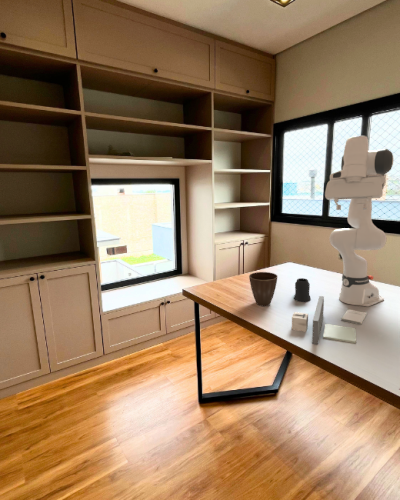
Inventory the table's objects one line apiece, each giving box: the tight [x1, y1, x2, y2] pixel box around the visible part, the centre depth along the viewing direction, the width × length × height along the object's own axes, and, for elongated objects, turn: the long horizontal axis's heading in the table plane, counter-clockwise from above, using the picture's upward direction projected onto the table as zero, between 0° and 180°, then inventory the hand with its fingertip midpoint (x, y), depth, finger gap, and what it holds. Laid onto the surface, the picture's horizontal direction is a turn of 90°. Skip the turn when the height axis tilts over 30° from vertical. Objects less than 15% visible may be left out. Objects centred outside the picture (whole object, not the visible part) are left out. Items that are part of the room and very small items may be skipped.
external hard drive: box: [340, 309, 368, 326], centre depth 136 cm, size 2×8×12 cm
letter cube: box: [291, 311, 309, 333], centre depth 129 cm, size 6×6×6 cm
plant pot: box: [248, 271, 278, 307], centre depth 157 cm, size 15×15×16 cm
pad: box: [322, 323, 357, 344], centre depth 122 cm, size 12×12×1 cm
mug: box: [293, 277, 312, 303], centre depth 162 cm, size 12×9×11 cm
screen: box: [311, 295, 325, 345], centre depth 127 cm, size 28×2×10 cm, turn 153°
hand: (351, 209), depth 115 cm, fingers open, 8 cm apart
